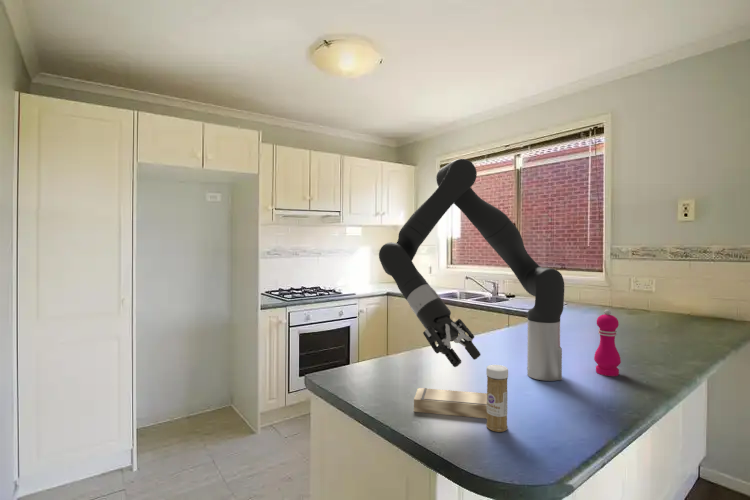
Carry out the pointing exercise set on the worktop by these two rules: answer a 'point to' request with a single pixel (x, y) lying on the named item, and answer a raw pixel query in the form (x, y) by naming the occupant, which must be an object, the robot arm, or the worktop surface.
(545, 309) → the robot arm
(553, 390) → the worktop surface
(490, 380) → the sprinkles bottle
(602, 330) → the pepper mill
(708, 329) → the worktop surface
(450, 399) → the maple plank
